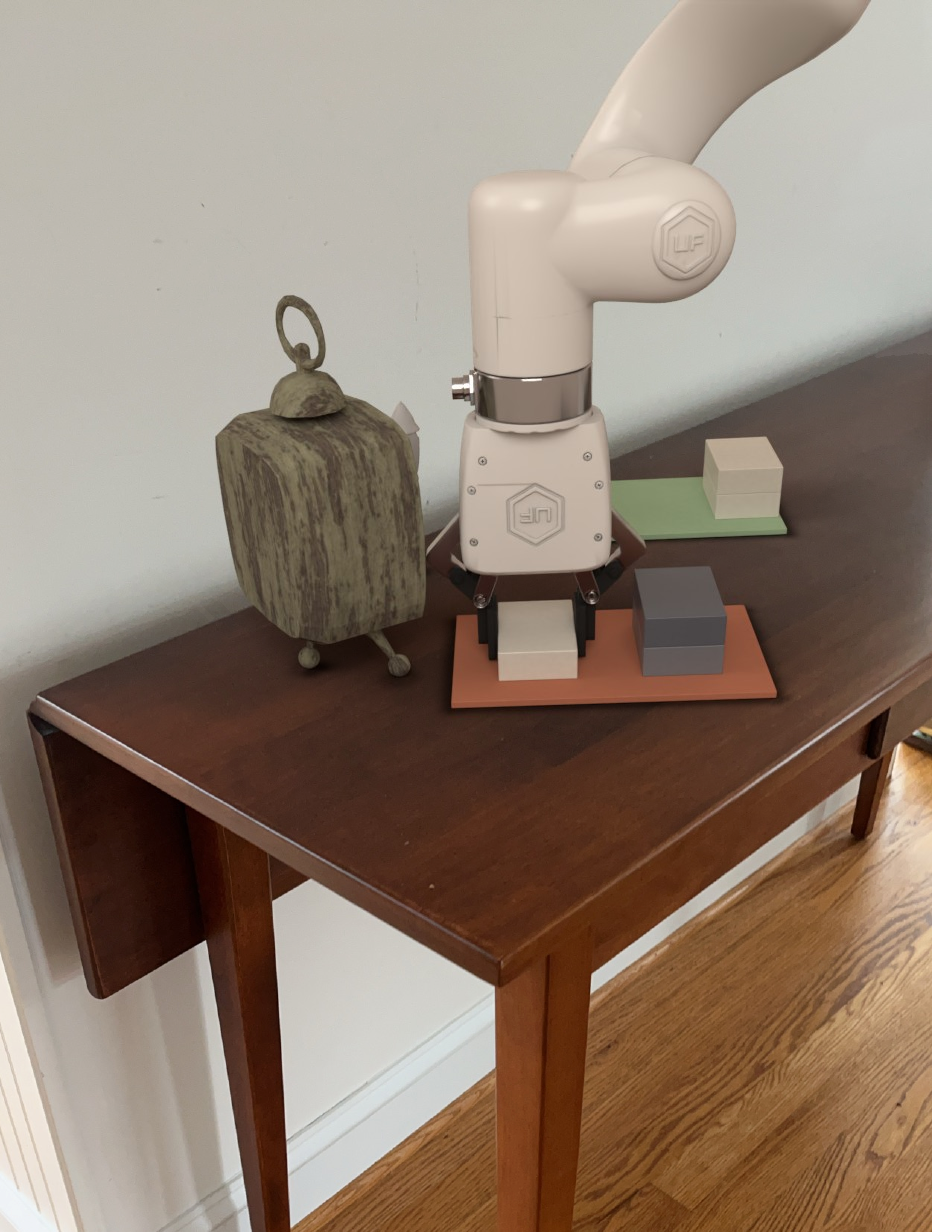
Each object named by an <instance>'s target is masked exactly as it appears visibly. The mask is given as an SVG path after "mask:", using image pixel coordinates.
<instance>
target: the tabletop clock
mask: <svg viewBox="0 0 932 1232" xmlns="http://www.w3.org/2000/svg"><path fill="white" fill-rule="evenodd" d="M288 307H289V308H294V309H297V310H299V311H300V312H302V314H303V315H304V316H305V317H306V319H308V321H309V324H310V326H311V328H312V329H313V332H314V334H315V337H316V339H317V345H318V346H317V347H318V350H317V351H318V352H317V355H316V356H315V358H312V357H311V356H312V355H311V349H310V345H308V344H307V343H305V342H299V343H297V344H295V345H294V347H293V346H292V345H291V343H290V341H289V340H288V339H287V337H286V333H285V330H284V320H283V319H284V315H285V312H286V309H287V308H288ZM275 327H276V333H277V336H278V340H279V343H280V344H281V347H282V350H283V352H284V353H285V355H287V357H288V358H289V361H291V362H292V363H294V364H295V370H296V371H292V372H290V373H288V374H286V375H284V376H282V377H281V378H280V379H279V380H278V382H277V383H276V384H275V385H274V387H273V389H272V392H271V395H270V401H269V407H267V408H266V407H265V408H262V409H257V410H252V411H247V412H243V413H239V414H238V415H236V416H234V417H233V418H232V419H231V420H230V421H229V422H228V423H227V424H226V425H225V426H224V427H223V429H221V430H220V431H219V432H218V433H217V434H216V435H215V436H214V437H215V438H214V441H215V443H214V444H215V445H214V446H215V459H216V468H217V475H218V481H219V488H220V495H221V502H222V508H223V515H224V520H225V524H226V531H227V537H228V543H229V548H230V552H231V553H230V554H231V557H232V558H231V559H232V563H233V566H234V570H235V571H234V572H235V574H236V578H237V581H238V585H239V587H240V589H241V591H242V592H243V595H245V597H246V598H247V600H248V601H249V602H250V603H251V604H252V605H253V607H255V608H256V609H257V610H258V611H259V612H260V613H261V614H262V616H264V617H265V618H266V619H267V620H268V621H269V622H271V623H272V624H273V625H275V626H276V627H277V628H278V629H279V630H281V631H282V632H284V633H285V634H286V635H288V636H289V637H290V638H293V639H298V640H301V641H306V646H304V647H302V648H301V649H300V650H299V653H298V662H299V665H300V666H301V667H303V668H304V669H306V670H307V669H309V670H310V669H314V668H316V667H317V666H318V665H319V663H320V660H321V657H320V652H319V650H318V649H317V648H315V644H318V645H321V646H323V645H332V644H335V643H338V642H341V641H345V640H348V639H353V638H355V637H359V636H362V635H365V636H366V637H369V638H370V639H371V640H373V641H374V643H375V644H376V645H377V647H379V648H380V650H381V651H382V652H383V653H384V654H385V656H387V658H388V659H389V660H388V662H387V668H388V670H389V673H390V674H391V675H392V676H394V677H398V678H401V677H402V678H403V677H404V676H406V675H408V673H409V672H410V669H411V663H410V660H409V658H408V656H406V655H405V654H401V653H395V651H394V649H393V647H392V646H391V644H390V642H389V641H388V639H387V637H386V636H385V634H384V632H383V629H386V628H389V627H392V626H396V625H399V624H403V623H406V622H409V621H413V620H416V619H419V618H420V619H421V618H423V616H424V610H425V605H426V596H427V595H426V592H427V568H426V567H427V565H426V564H427V562H426V535H425V526H424V517H423V507H422V497H421V488H420V481H418V477H419V474H418V473H417V468H416V462H415V458H414V454H413V450H412V446H411V442H410V439H409V437H408V436H407V435H406V433H405V432H404V431H403V429H402V428H401V427H400V426H399V425H398V424H397V423H396V422H395V421H394V420H393V419H392V418H391V417H392V416H389V414H386V413H385V412H384V411H382V410H380V409H379V408H377V407H375V406H374V405H372V404H370V403H369V402H368V401H367V400H363V399H360V398H358V397H354V396H351V395H348V394H344V391H343V390H342V388H341V387H340V385H339V383H338V382H337V380H336V379H335V378H334V377H333V376H332V375H331V374H329V373H328V372H326V371H322V370H318V369H319V368H321V367H322V366H323V364H324V362H325V358H326V350H327V348H326V347H327V346H326V338H325V333H324V330H323V326H322V323H321V320H320V319H319V316H318V314H317V312H316V311H315V309H314V308H313V306H312V305H311V304H310V303H308V301H306V300H305V299H303V297H300V296H297V295H294V294H287V295H283V297H282V298H280V299H279V300H278V302H277V304H276V308H275Z"/></svg>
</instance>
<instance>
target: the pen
mask: <svg viewBox="0 0 932 1232" xmlns="http://www.w3.org/2000/svg"><path fill="white" fill-rule="evenodd" d="M390 417H391V418H392V419H393V420H394V421H395V422H396V423H397V424H398V425H399V426H400V427H401V428H402V429H403V431H404V432H405V433H406V435H407V436H408V437H409V439H410V442H411V446H412V450H413V454H414V458H415V462H416V468H417V474H418V473H419V468H420V453H421V452H420V450H421V449H420V436H419V435H418V434H417V433H418V432H419V431H420V427H419V426H418V424H417V423H416V421H415V419H414V416H413V415H412V413H411V412H410V411H409V409H408V407H407V406H406V405H405V404H404V402H403V401H402V400H400V401H399V402H398V403H397V405H396V406H395V409H394V411H393V412H392V415H391V416H390ZM419 480H420V477H419V476H418V481H419ZM419 482H420V481H419Z"/></svg>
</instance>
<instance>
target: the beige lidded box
mask: <svg viewBox="0 0 932 1232" xmlns="http://www.w3.org/2000/svg"><path fill="white" fill-rule="evenodd" d="M704 441H705V442H704V444H705V445H704V457H703V471H702V472H703V474H702V477H703V485H702V486H703V489H704V492H705V494H706V497H707V499H708V502H709V505H710V507H711V510H712V512H713V515H714V518H715V519H716V520H717V519H741V518H765V517H778V516H779V514H780V506H781V505H780V504H781V497H782V488H783V487H782V485H783V476H784V466H783V464H782V462H781V460H780V459H779V457H778V454H777V453H776V451H775V449H774V448H773V446H772V443H771V442H770V441H769V439H768V437H767V436H749V437H748V436H747V437H730V438H729V437H728V438H727V437H726V438H707V439H705V440H704Z"/></svg>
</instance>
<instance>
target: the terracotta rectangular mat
mask: <svg viewBox="0 0 932 1232" xmlns="http://www.w3.org/2000/svg"><path fill="white" fill-rule="evenodd" d="M724 608H725V611H726V614H727V625H726V637H725V644H724V645H725V649H724V661H723V672H722V674H703V675H673V676H644V677H643V676H642V671H641V666H640V661H639V656H638V651H637V646H636V641H635V636H634V631H633V626H632V612H633V608H621V609H596V615H595V640H586V657H578V675H577V678H576V679H549V680H519V681H499V675H498V658H496V660H489V657H488V644H479V643H478V620H477V614H461V615H460V614H459V615H456V622H455V638H454V652H453V667H452V668H453V669H452V686H451V698H450V699H451V701H450V705H451V709H467V708H469V709H470V708H471V709H472V708H500V707H501V708H502V707H503V708H505V707H532V706H534V707H535V706H536V707H537V706H561V705H563V706H564V705H593V704H623V703H628V704H629V703H657V702H659V703H660V702H687V701H688V702H689V701H716V700H717V701H718V700H722V701H723V700H743V699H744V700H747V699H749V700H752V699H753V700H754V699H776V698H777V694H778V691H777V688H776V685H775V682H774V681H773V678H772V674H771V672H770V669H769V667H768V665H767V662H766V659H765V657H764V654H763V651H762V649H761V646H760V644H759V641H758V638H757V635H756V633H755V630H754V628H753V624H752V622H751V620H750V617H749V614H748V611H747V608H746V605H745V604H730V605H729V604H728V605H724ZM573 614H574V610H573Z"/></svg>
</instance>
